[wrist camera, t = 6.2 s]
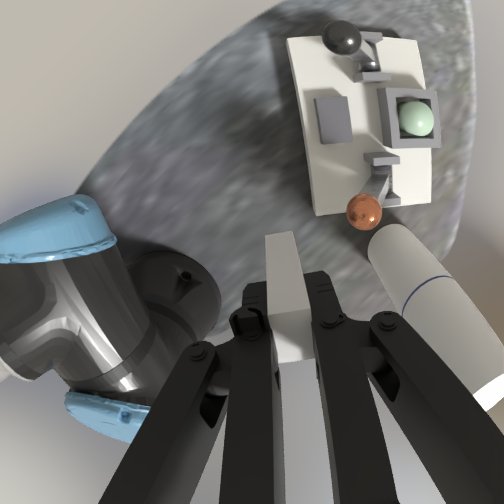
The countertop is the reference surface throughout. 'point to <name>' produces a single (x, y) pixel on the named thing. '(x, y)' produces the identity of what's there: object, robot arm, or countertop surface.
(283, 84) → the countertop surface
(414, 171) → the panel
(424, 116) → the button
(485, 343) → the cylindrical container
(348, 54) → the lever
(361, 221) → the lever
